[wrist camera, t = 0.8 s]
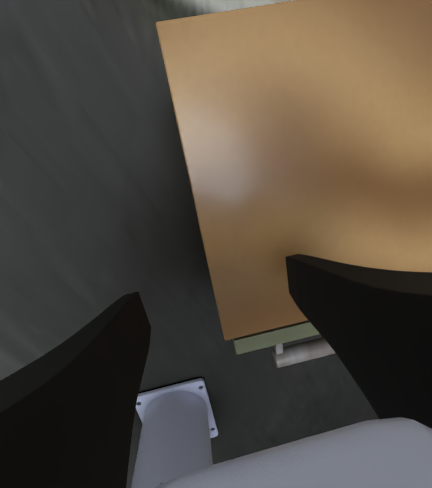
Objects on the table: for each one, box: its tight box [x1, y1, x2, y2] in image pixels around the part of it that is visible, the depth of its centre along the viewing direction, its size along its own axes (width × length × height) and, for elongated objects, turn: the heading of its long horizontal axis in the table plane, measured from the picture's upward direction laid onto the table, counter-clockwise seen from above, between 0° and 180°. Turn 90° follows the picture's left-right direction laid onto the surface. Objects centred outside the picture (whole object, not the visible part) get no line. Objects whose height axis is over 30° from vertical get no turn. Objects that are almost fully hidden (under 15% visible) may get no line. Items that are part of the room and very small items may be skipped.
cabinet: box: [156, 0, 432, 340], centre depth 16 cm, size 16×14×9 cm
